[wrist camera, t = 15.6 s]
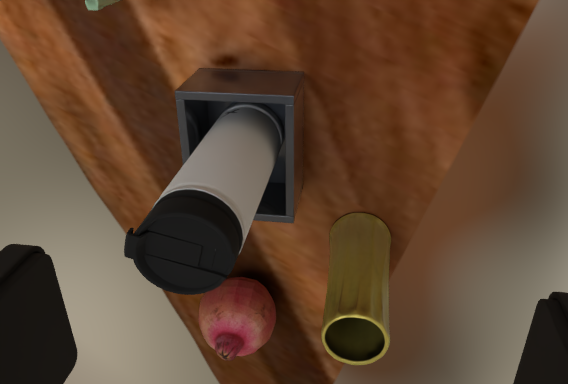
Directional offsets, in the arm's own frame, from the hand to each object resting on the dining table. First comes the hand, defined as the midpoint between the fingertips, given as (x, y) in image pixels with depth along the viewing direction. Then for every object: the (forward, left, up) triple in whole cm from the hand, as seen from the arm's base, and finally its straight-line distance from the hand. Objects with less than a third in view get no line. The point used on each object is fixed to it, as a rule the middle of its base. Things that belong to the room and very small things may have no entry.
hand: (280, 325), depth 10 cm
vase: (+22, +2, -36) cm, 43 cm away
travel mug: (+11, -9, -36) cm, 39 cm away
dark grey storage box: (+11, -8, -36) cm, 39 cm away
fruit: (+30, -10, -36) cm, 48 cm away
